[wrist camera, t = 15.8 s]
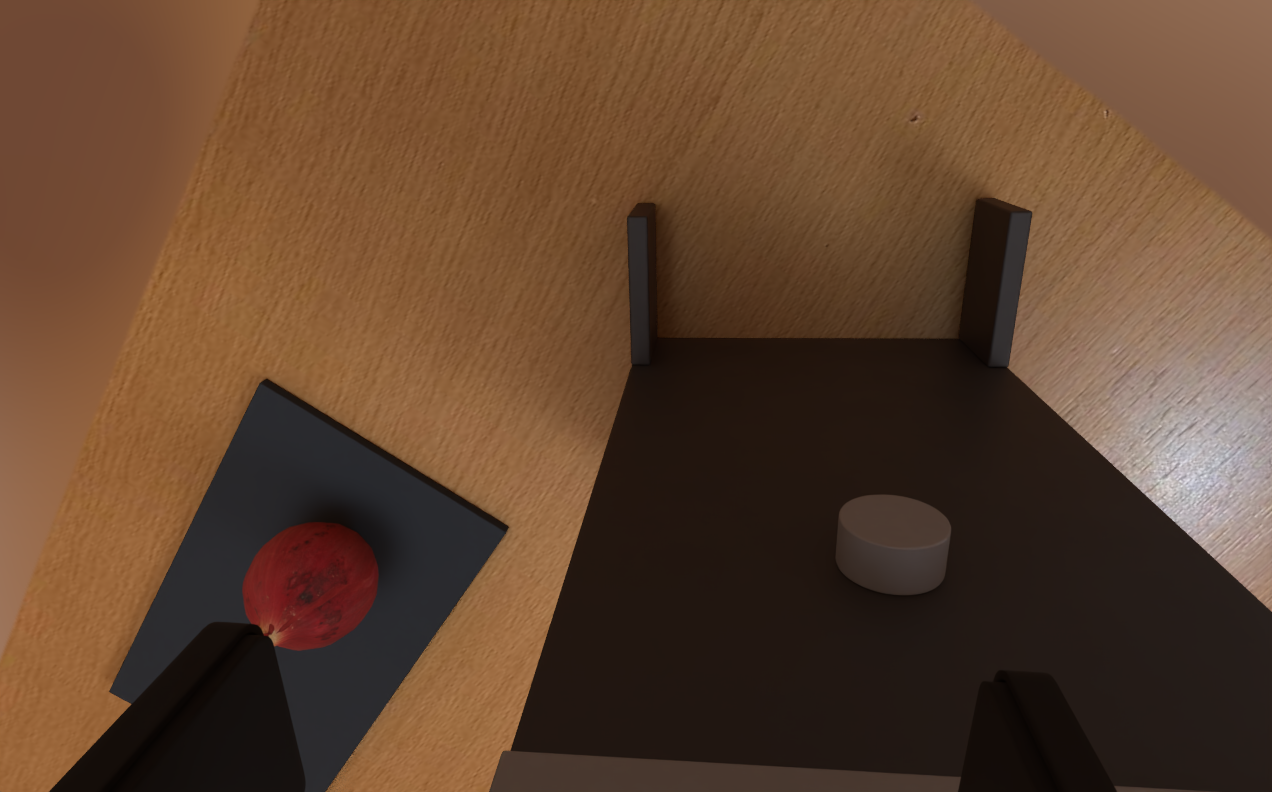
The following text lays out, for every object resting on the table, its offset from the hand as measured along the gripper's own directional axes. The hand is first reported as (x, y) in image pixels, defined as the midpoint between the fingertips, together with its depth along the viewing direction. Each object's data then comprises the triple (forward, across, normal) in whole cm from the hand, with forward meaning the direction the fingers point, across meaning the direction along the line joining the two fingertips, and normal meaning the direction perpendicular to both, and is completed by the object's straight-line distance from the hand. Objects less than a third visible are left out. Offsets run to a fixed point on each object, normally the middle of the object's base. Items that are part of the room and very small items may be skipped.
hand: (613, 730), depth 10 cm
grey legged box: (+26, -5, +3) cm, 26 cm away
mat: (+25, +22, +19) cm, 38 cm away
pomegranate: (+25, +18, +14) cm, 34 cm away
